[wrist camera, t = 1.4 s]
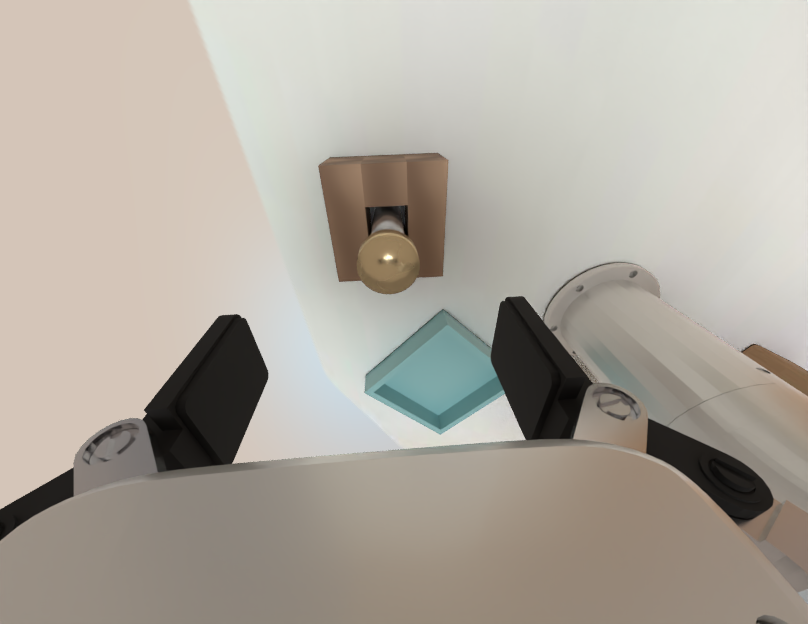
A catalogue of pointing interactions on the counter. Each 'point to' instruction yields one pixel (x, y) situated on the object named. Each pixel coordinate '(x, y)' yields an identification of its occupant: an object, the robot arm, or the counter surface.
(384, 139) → the counter surface
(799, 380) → the wooden block
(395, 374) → the tray
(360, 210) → the block
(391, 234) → the lock pin
